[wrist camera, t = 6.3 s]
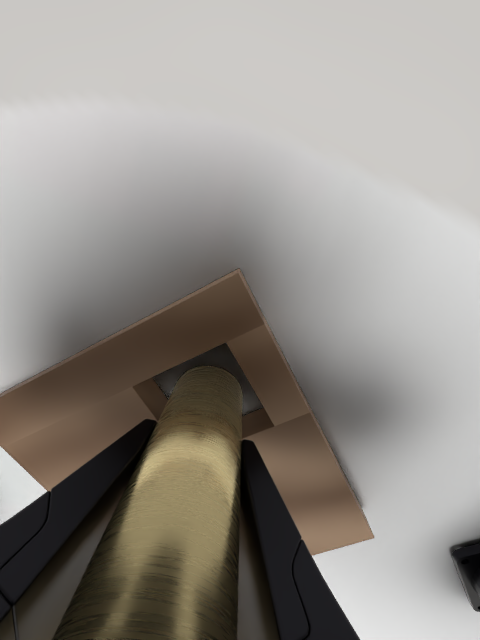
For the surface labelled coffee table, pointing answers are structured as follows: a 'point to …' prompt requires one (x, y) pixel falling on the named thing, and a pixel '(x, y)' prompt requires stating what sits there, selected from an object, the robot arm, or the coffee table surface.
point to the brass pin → (172, 528)
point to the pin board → (149, 401)
